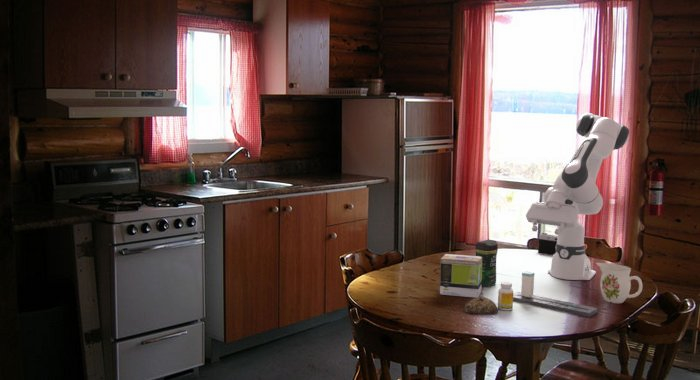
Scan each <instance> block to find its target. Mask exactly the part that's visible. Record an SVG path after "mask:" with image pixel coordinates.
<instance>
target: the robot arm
mask: <svg viewBox="0 0 700 380" xmlns="http://www.w3.org/2000/svg"><path fill="white" fill-rule="evenodd" d="M576 132H577V134H578V135H580V136H581V137H585V138H584V139H583V140H582V141H581V143H580V144H579V146H578V147H577V149H576V151H575V153H574V154H573V156H572V158H571V160H570V161H569V163H568V164H567V165H566V166H565V167H564V168H563V170H562V171H561V172H560V173H559V175H558V176H557V178H556V179H555V181H554V183H553V186H551V187H548V189H547V190H546V191H545V192H544V197H543V201H544V202H540V201H536V202H534V203H532V204H531V205H530V208H529V209H528V211H527V212H526V214H525V217H526V220H527V221H528V223H532V228H531V230H532V232H536V233H537V232H538V229H539V227H538V224H540V225H546V226H547V225H548V226H555V227H556V228H555V230H554V235H557V243H556V253H555V254H554V255H552V259H551V266H550V269H549V270H547V274H549V275H551V276H552V277H554V278H557V279H561V280H567V281H590V280H591V279H592V278H593V277H594V276H595V275H596V270H593V269H592V268H591V267H592V266H591V264H592V262H591V259H590V258H589V257H588V256H587V254H586V250H587V248H588V245H587V244H585V232H586V230H585V227H584V225H583V224H582V223H581V222H580V221H579V219H580V218H579V215H583V216H584V215H586V216H587V215H588V216H589V215H597V214H598V213H600V211H601V210H602V208H603V205H604V199H603V196H602V194H601V193H600V190H599V187H598V186H597V184H596V183H597V178H598V177H597V176H598V174H599V171H600V168H601V166H602V163H603V160H605V159H607V158H609V157H610V156H611V155H612V153H613V151H614V150H619V149H621V148H624V146H625V145H626V144H627V142H628V141H629V139H630V129H629V128H628V127H627V126H626V125H624V124H623V123H622V124H621V123H619V122H618V121H615V120H614V119H612V118H610V117H603V116H600V115H597V114H594V113H593V112H592V113H591V112H585V113H583V114H582V115H581V116H580V117H579V119H578V120H577V123H576Z"/></svg>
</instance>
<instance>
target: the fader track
mask: <svg viewBox="0 0 700 380" xmlns="http://www.w3.org/2000/svg"><path fill="white" fill-rule="evenodd" d="M513 302H517V303H521V304H527V305H530V306H535V307H539V306H540V308H544V307H545V308H544V309H548V308H549V309H550V310H554V311H558V312H563V313H568V314H572V315H578V316H581V317H585V316H586V318H590V317H592V316H594V315H595V314H597V313H598V310H599V309H598V307H592V306H588V305H583V304H579V303H574V302H570V301H563V300H558V299H556V298H555V299H554V298H549V297H544V296H539V295H535V294H533V296H532V297H525V296H521V292H520V291H516V292H513Z"/></svg>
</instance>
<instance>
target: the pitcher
mask: <svg viewBox="0 0 700 380" xmlns="http://www.w3.org/2000/svg"><path fill="white" fill-rule="evenodd" d="M595 264H596V265H597V266H598V267H599V269H600V270H601V277H600V279H599V280H600V283H599V285H600V292H601V294H602V295H601V296H602V297H603V299H604V300H605V302H607V303H610V302H612V303H611V304H622V303H624V302H625V301H626V299H634V298H637V297H638V296H639V295H640V294H641V293H642V291H643V286H644V285H643V282H642V279H641V278H640V277H639V276H638V275H633V276H632V275H631V276H630V274H631V271H632V268H631V267H629V266H626V265H621V264H615V263H605V262H604V263H603V262H595ZM632 280H636V281H637V283H638V290H637V291H636V292H635V293H633V294H630V291H631V286H632Z"/></svg>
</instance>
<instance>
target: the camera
mask: <svg viewBox="0 0 700 380" xmlns="http://www.w3.org/2000/svg"><path fill="white" fill-rule="evenodd" d="M556 243H557V235H556V234H550V233H546V232H542V233H539V237H538V243H537V245H538V246H537V247H538V248H537V253H540V254H545V255H551V256H553V255H554V254H555V253H556Z"/></svg>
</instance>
